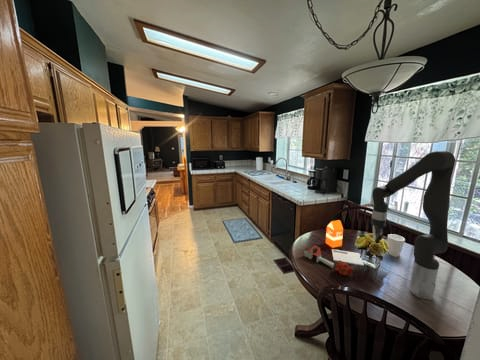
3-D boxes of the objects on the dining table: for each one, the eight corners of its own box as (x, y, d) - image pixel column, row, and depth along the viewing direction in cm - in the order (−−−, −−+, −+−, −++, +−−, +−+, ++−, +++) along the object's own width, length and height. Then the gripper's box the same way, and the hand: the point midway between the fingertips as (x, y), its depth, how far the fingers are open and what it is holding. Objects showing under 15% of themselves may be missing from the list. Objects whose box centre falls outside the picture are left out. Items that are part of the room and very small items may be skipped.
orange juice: (325, 242, 157) (327, 219, 152) (334, 241, 159) (336, 218, 155) (332, 248, 149) (334, 223, 145) (341, 245, 152) (344, 221, 148)
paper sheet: (363, 266, 128) (364, 264, 127) (333, 260, 134) (333, 259, 134) (359, 254, 140) (359, 253, 140) (331, 249, 147) (331, 248, 146)
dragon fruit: (331, 271, 126) (352, 280, 120) (331, 270, 119) (353, 280, 113) (335, 258, 128) (356, 267, 122) (335, 257, 121) (357, 266, 115)
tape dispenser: (335, 271, 126) (325, 252, 145) (336, 264, 124) (326, 245, 144) (307, 268, 128) (301, 250, 147) (308, 262, 126) (302, 243, 145)
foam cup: (405, 257, 135) (408, 240, 133) (392, 258, 135) (394, 240, 133) (395, 250, 145) (397, 234, 142) (382, 250, 145) (384, 234, 142)
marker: (379, 248, 124) (382, 230, 122) (372, 247, 125) (374, 230, 123) (378, 245, 127) (380, 228, 125) (371, 244, 129) (373, 227, 126)
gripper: (390, 222, 115) (386, 249, 118) (382, 214, 128) (379, 238, 131) (375, 221, 117) (372, 247, 121) (369, 213, 130) (366, 237, 134)
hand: (375, 242), depth 126 cm, fingers closed on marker, 3 cm apart
